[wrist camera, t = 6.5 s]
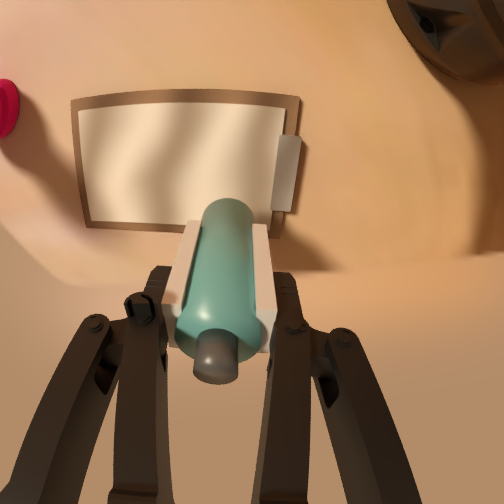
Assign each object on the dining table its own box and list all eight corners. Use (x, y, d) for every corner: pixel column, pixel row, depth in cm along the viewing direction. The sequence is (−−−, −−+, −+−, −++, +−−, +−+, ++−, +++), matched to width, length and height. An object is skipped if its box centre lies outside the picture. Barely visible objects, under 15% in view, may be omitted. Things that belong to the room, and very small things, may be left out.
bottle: (257, 200, 18) (270, 348, 9) (251, 245, 20) (258, 396, 11) (202, 196, 17) (161, 341, 8) (201, 242, 19) (173, 390, 10)
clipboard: (303, 97, 19) (307, 98, 18) (283, 235, 25) (284, 243, 24) (74, 99, 18) (66, 101, 16) (89, 224, 24) (83, 231, 23)
